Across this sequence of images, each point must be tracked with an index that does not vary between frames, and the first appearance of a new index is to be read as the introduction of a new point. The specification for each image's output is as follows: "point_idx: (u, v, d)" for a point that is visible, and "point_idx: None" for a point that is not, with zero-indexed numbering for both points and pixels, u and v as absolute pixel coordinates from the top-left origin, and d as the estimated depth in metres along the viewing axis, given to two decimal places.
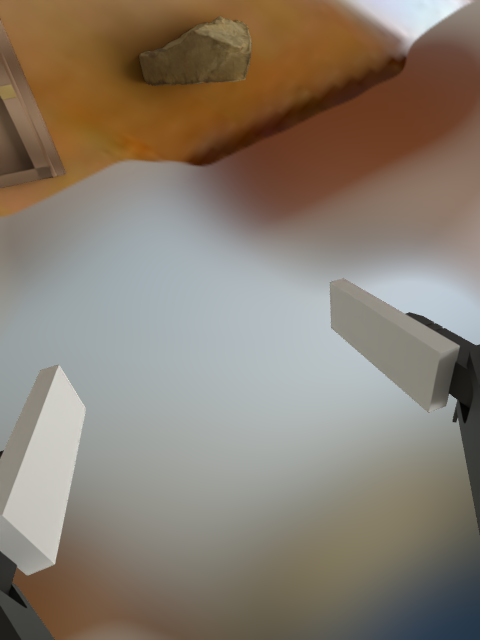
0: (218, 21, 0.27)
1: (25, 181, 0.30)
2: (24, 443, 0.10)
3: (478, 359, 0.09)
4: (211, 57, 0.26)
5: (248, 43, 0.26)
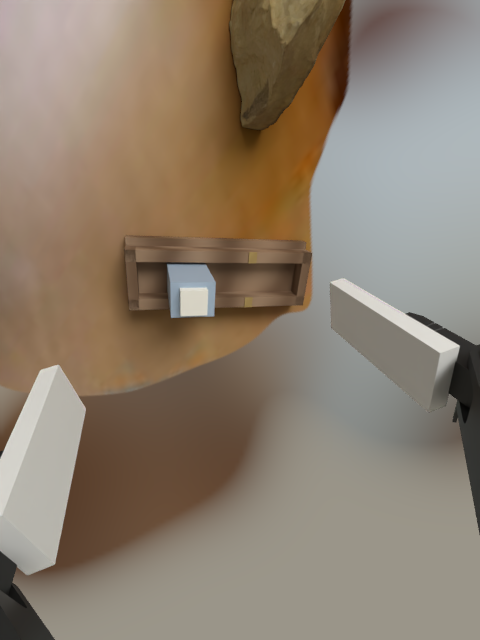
0: (264, 3, 0.22)
1: (307, 274, 0.36)
2: (24, 443, 0.10)
3: (478, 359, 0.09)
4: (312, 31, 0.21)
5: None
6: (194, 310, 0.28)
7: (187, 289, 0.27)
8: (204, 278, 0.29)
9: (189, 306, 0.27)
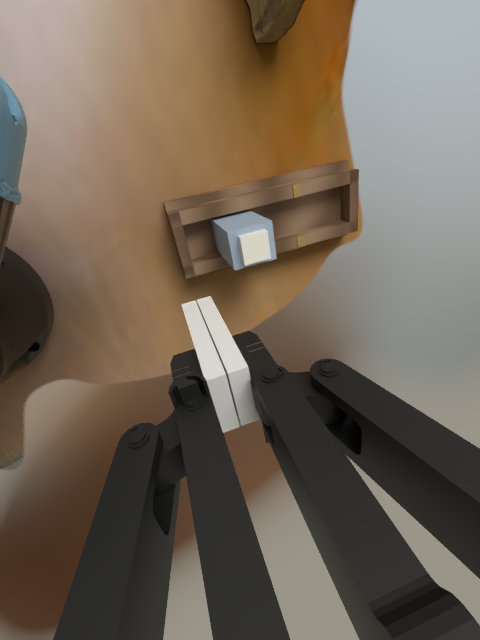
0: None
1: (357, 195, 0.33)
2: (208, 341, 0.13)
3: (261, 385, 0.10)
4: None
5: None
6: (257, 256, 0.26)
7: (245, 234, 0.25)
8: (257, 220, 0.27)
9: (251, 252, 0.26)
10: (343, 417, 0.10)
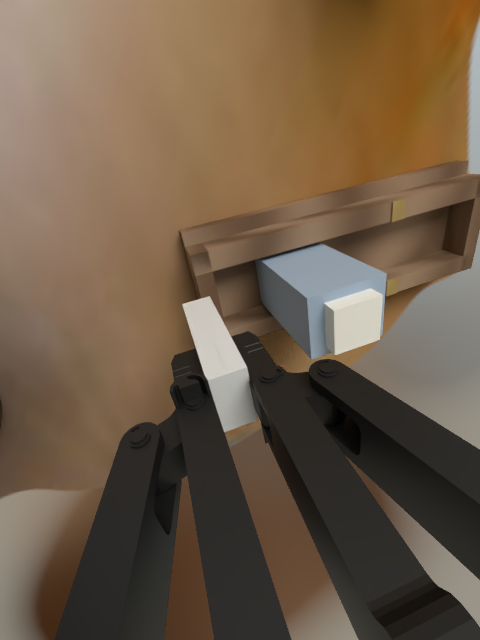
0: None
1: None
2: (209, 341, 0.13)
3: (260, 385, 0.10)
4: None
5: None
6: (357, 338, 0.14)
7: (341, 302, 0.14)
8: (354, 270, 0.15)
9: (349, 333, 0.14)
10: (342, 418, 0.10)
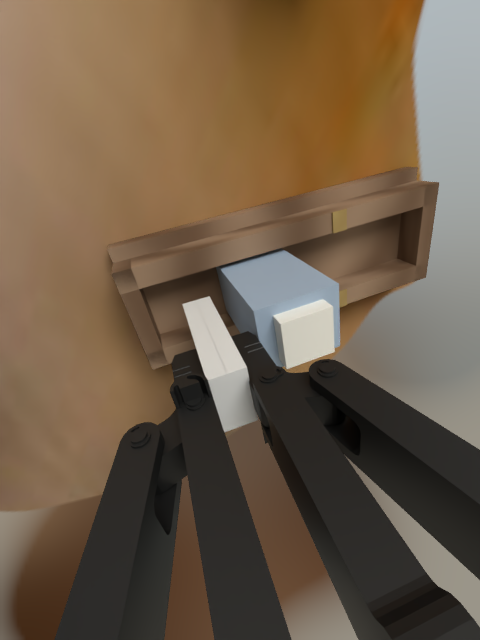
0: None
1: (431, 224, 0.20)
2: (209, 341, 0.13)
3: (260, 386, 0.10)
4: None
5: None
6: (310, 351, 0.14)
7: (290, 314, 0.13)
8: (307, 280, 0.14)
9: (300, 346, 0.13)
10: (342, 417, 0.10)
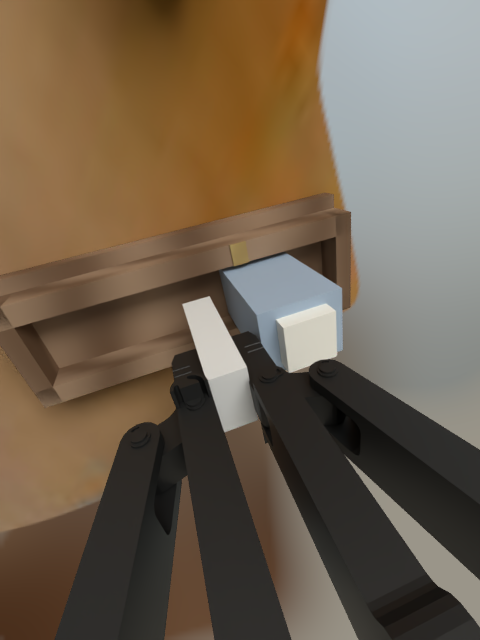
0: None
1: (349, 254, 0.19)
2: (209, 341, 0.13)
3: (260, 386, 0.10)
4: None
5: None
6: (312, 355, 0.14)
7: (293, 318, 0.13)
8: (310, 284, 0.14)
9: (303, 350, 0.13)
10: (342, 417, 0.10)
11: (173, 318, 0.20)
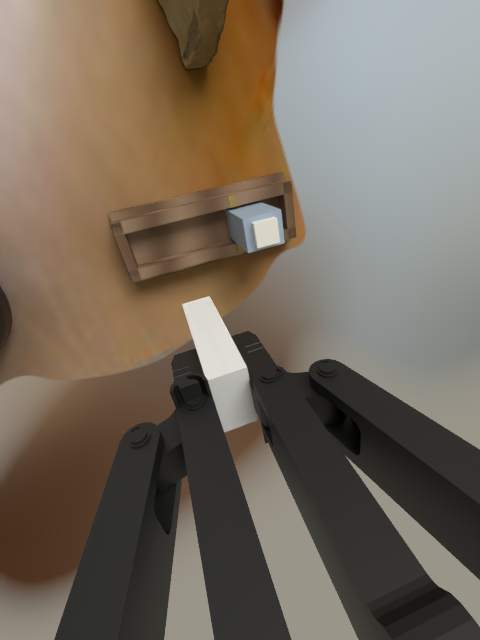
0: None
1: (292, 204, 0.36)
2: (209, 341, 0.13)
3: (260, 385, 0.10)
4: None
5: None
6: (268, 240, 0.30)
7: (258, 221, 0.29)
8: (268, 209, 0.31)
9: (263, 237, 0.30)
10: (342, 417, 0.10)
11: (197, 240, 0.36)
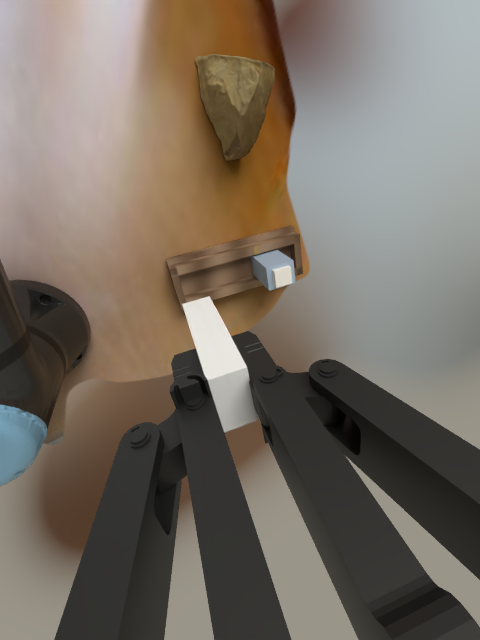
0: (222, 89, 0.33)
1: (300, 250, 0.47)
2: (209, 341, 0.13)
3: (260, 385, 0.10)
4: (258, 101, 0.32)
5: (247, 61, 0.30)
6: (284, 282, 0.42)
7: (277, 269, 0.41)
8: (283, 259, 0.43)
9: (280, 280, 0.42)
10: (342, 418, 0.10)
11: (229, 276, 0.48)
